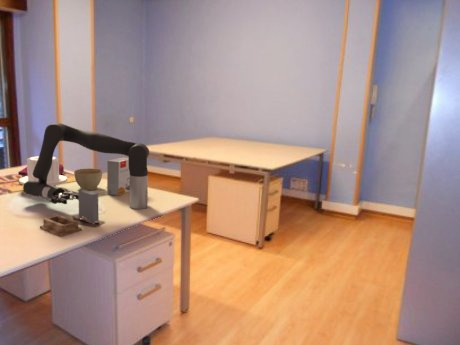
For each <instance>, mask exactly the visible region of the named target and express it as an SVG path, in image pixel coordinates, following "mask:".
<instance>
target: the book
mask: <svg viewBox="0 0 460 345" xmlns="http://www.w3.org/2000/svg"><path fill="white" fill-rule="evenodd" d="M64 169H65V168H64V165H63V164H60V163H59V175H61V174H62V173H64ZM17 173H18V175H19V176H21V178H22V177H25V176H28V173H27V166H26V167H25V168H23V169H21V170H19V171H18V172H17ZM62 175H63V174H62Z"/></svg>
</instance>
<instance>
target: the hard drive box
mask: <svg viewBox="0 0 460 345" xmlns="http://www.w3.org/2000/svg"><path fill="white" fill-rule="evenodd" d="M106 165H107V166H106V167H107V168H106V169H107V172H106V173H107V177H106V178H107V182H106V183H107V184H106V188H107V189H106V194H107V195H111V196H116V197H118V196H122V195H123V194H126V193H130V171H129V158H128V157H118V158H114V159H109V160H107V164H106Z"/></svg>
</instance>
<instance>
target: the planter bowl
mask: <svg viewBox="0 0 460 345" xmlns="http://www.w3.org/2000/svg"><path fill="white" fill-rule="evenodd" d="M103 172H104V171H103V169H100V168H91V167H90V168H89V167H88V168H80V169H76V170H74V171H73V174H74V179H75V182H76V184H77V185H78V186H79V188H80V190H88V191H93V190H97V189H98V186H99V185H100V183H101V181H102V179H103V178H102V177H103Z"/></svg>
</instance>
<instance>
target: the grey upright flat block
mask: <svg viewBox="0 0 460 345" xmlns="http://www.w3.org/2000/svg"><path fill="white" fill-rule="evenodd" d="M77 192H78V196H79V200H78V219H79V218H82V216H84V217H86V218H87V219H88V220H90V221H91V222H92V223H94V222H95V221H99V193H98V192H95V191H92V190H82V189H80V190H78V191H77Z"/></svg>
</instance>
